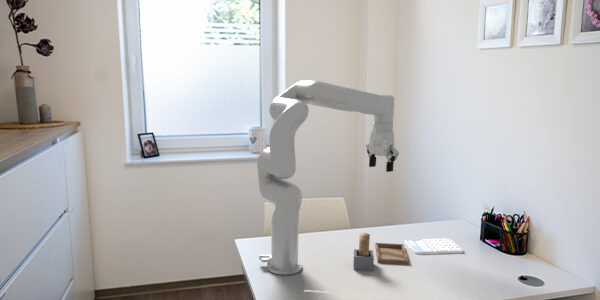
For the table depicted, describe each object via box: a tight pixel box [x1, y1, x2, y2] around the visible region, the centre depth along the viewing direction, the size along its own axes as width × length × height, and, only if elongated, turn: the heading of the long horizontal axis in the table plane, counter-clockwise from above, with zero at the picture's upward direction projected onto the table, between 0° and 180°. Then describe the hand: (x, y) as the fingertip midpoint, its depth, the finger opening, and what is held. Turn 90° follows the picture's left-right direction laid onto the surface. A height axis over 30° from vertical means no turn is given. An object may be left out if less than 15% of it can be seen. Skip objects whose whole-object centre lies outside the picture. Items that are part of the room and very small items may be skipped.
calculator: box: [404, 237, 464, 255], centre depth 188 cm, size 13×20×2 cm, turn 97°
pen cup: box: [353, 248, 375, 272], centre depth 166 cm, size 7×7×6 cm
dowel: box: [358, 232, 371, 257], centre depth 166 cm, size 4×4×12 cm
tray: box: [374, 242, 409, 266], centre depth 177 cm, size 16×11×2 cm
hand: (380, 168), depth 185 cm, fingers open, 9 cm apart
